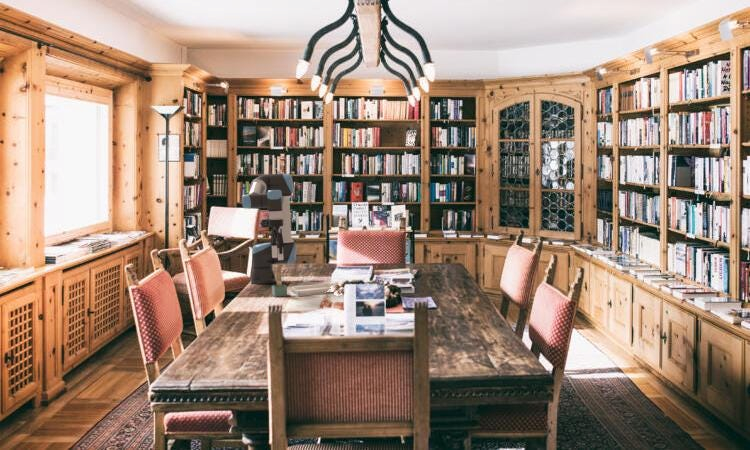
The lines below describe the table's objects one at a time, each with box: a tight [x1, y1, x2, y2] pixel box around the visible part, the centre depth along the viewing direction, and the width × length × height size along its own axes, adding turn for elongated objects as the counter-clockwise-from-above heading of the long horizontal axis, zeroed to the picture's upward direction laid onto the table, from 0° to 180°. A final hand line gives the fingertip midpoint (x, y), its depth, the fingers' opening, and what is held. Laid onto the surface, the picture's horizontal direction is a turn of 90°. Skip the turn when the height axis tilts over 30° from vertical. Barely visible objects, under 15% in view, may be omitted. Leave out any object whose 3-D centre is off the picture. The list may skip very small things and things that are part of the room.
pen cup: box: [271, 283, 288, 297], centre depth 368 cm, size 7×7×5 cm
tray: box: [290, 282, 333, 297], centre depth 374 cm, size 16×22×2 cm
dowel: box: [275, 264, 283, 287], centre depth 367 cm, size 3×3×16 cm
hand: (277, 258), depth 366 cm, fingers open, 13 cm apart
